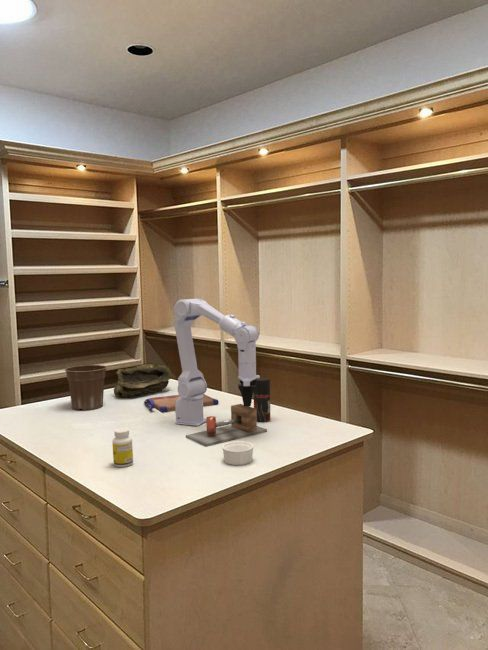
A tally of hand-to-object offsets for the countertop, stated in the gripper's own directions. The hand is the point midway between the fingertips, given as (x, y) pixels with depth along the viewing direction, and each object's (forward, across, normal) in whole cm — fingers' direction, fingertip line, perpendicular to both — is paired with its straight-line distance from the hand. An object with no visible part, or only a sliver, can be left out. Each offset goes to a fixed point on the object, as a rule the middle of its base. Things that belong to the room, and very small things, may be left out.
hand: (247, 403), depth 177 cm
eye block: (+10, -2, +7) cm, 12 cm away
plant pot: (+10, +37, +66) cm, 77 cm away
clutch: (+11, +40, +30) cm, 51 cm away
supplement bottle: (+10, -29, +34) cm, 46 cm away
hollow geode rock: (+11, +60, +49) cm, 78 cm away
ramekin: (+10, -26, +2) cm, 28 cm away
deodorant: (+10, +15, -4) cm, 19 cm away
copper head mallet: (+8, -1, +6) cm, 10 cm away
